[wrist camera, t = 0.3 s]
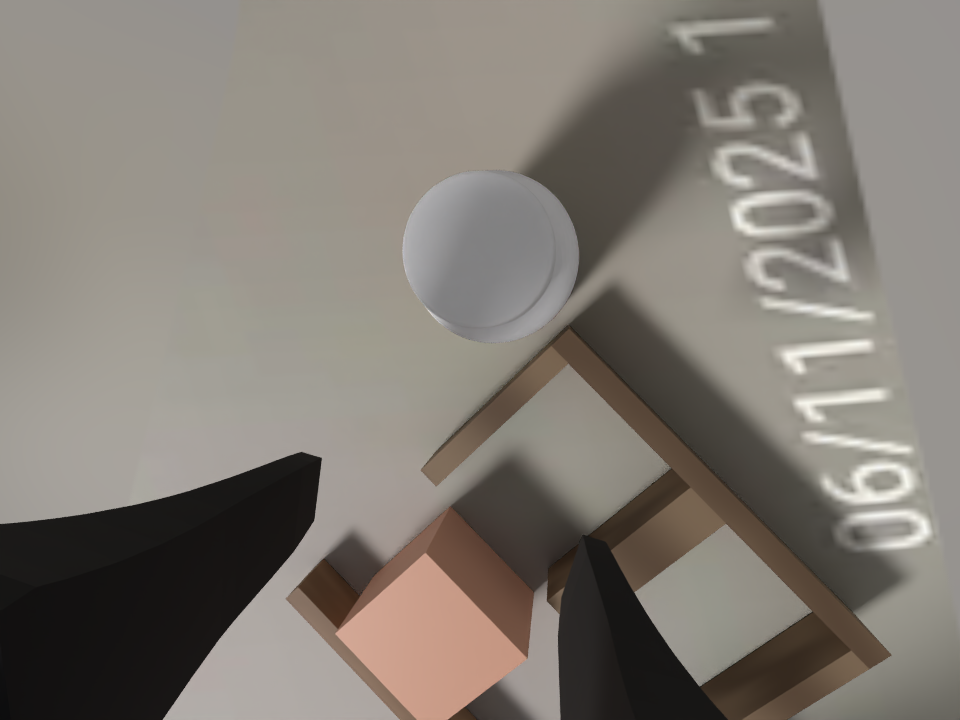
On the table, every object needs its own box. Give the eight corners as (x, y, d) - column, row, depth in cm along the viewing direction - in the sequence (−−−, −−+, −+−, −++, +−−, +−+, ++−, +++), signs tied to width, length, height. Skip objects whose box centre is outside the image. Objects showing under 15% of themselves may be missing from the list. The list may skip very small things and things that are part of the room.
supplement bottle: (568, 200, 20) (573, 118, 11) (580, 322, 21) (594, 343, 12) (450, 219, 21) (360, 159, 12) (464, 334, 22) (391, 365, 13)
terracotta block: (453, 655, 25) (429, 733, 20) (375, 574, 25) (334, 633, 20) (534, 590, 23) (527, 658, 19) (451, 504, 24) (425, 552, 19)
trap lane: (636, 911, 25) (644, 978, 22) (312, 569, 25) (285, 598, 23) (967, 728, 20) (1021, 786, 18) (568, 324, 21) (569, 328, 19)
